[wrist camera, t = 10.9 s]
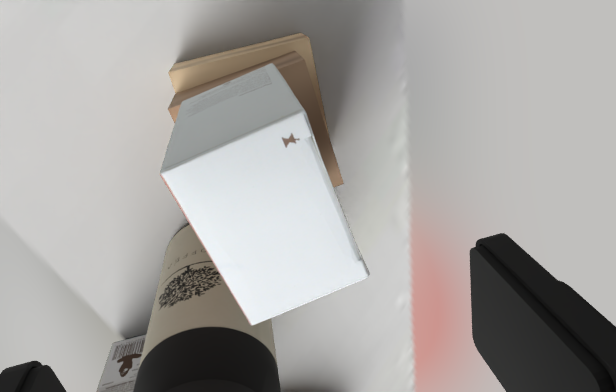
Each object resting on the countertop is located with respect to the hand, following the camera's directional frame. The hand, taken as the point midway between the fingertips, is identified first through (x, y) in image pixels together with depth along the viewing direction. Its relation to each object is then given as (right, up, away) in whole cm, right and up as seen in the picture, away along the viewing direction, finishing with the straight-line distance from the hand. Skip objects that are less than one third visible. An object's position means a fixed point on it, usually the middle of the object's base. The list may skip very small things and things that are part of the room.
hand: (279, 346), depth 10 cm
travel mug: (-7, -2, +28) cm, 29 cm away
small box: (-2, +6, +17) cm, 18 cm away
